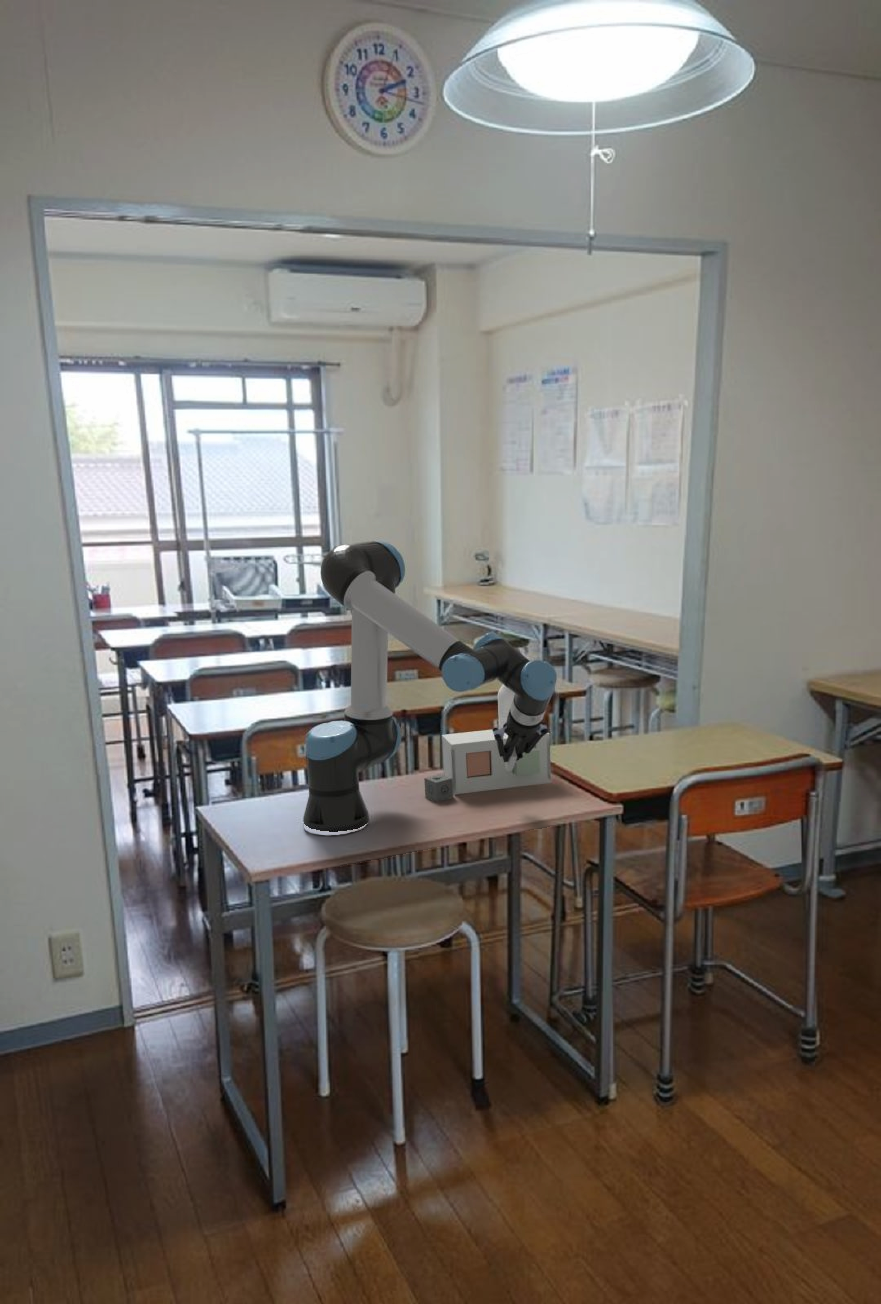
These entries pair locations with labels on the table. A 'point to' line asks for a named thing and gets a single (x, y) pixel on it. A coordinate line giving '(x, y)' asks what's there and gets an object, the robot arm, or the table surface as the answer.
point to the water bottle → (504, 704)
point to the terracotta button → (478, 763)
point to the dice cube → (438, 787)
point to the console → (498, 777)
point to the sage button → (528, 763)
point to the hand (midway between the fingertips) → (507, 765)
